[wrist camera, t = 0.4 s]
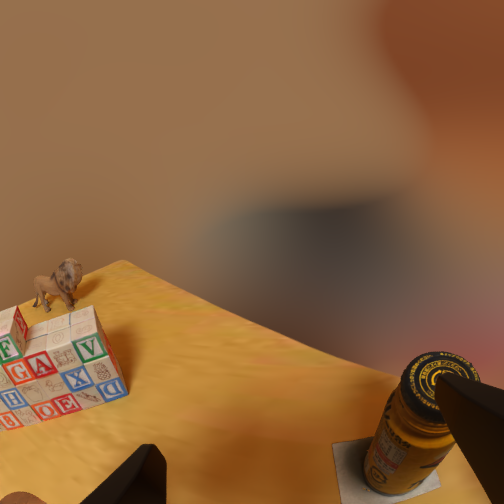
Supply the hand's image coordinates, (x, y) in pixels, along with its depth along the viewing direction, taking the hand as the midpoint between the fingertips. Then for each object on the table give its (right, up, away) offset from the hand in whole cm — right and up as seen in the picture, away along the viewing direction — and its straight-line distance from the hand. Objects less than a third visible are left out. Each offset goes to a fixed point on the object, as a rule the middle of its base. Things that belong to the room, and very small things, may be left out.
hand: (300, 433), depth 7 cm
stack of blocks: (-26, -13, +19) cm, 35 cm away
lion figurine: (-37, -5, +41) cm, 56 cm away
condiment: (+10, -13, +11) cm, 19 cm away
